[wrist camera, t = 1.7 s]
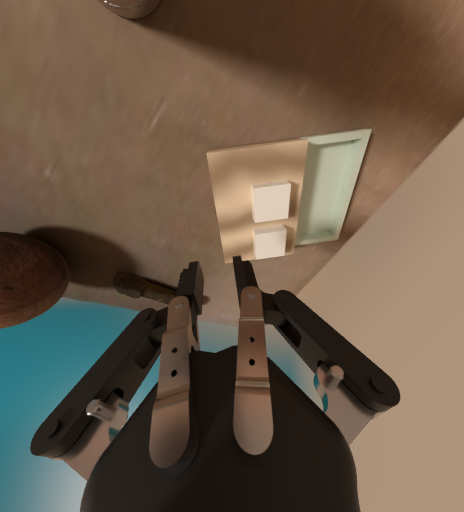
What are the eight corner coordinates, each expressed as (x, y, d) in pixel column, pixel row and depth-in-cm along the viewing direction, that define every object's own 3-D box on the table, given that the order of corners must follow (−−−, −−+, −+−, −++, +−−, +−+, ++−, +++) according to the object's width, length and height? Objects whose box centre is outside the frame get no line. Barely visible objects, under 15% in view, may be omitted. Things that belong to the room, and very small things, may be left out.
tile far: (252, 228, 28) (255, 234, 27) (282, 224, 28) (286, 230, 27) (253, 252, 31) (256, 259, 30) (280, 249, 31) (284, 255, 30)
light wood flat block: (207, 149, 25) (206, 153, 21) (293, 138, 26) (308, 139, 22) (224, 248, 36) (225, 263, 32) (284, 240, 36) (293, 253, 32)
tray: (300, 137, 26) (307, 137, 24) (359, 128, 26) (372, 128, 24) (289, 239, 36) (293, 245, 34) (331, 233, 36) (337, 239, 34)
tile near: (251, 184, 24) (253, 188, 23) (286, 179, 24) (291, 183, 23) (252, 217, 27) (254, 222, 26) (283, 213, 27) (287, 218, 26)
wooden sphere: (-28, 204, 27) (-221, 263, 15) (82, 229, 31) (-1, 291, 19) (6, 272, 35) (-101, 346, 23) (90, 285, 39) (36, 354, 27)
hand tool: (199, 294, 44) (198, 309, 41) (192, 303, 46) (190, 318, 42) (122, 263, 37) (112, 278, 33) (117, 275, 39) (106, 291, 35)
